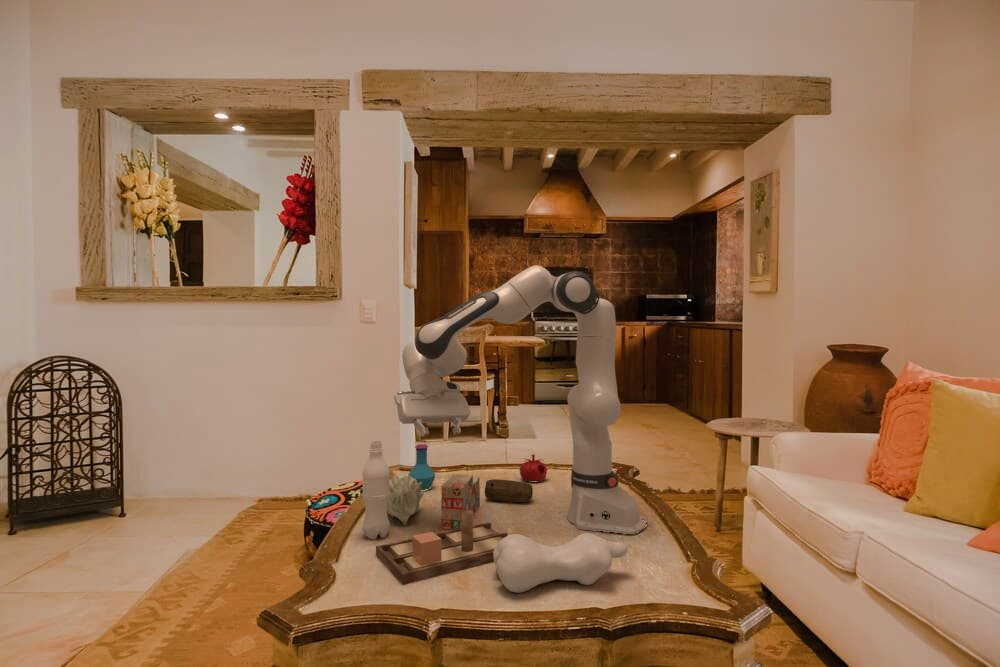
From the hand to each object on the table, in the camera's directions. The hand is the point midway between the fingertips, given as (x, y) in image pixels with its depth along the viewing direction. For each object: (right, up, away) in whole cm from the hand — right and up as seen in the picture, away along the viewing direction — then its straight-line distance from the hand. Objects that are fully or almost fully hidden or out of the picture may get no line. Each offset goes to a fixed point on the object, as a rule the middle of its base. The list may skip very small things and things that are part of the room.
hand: (441, 434), depth 144 cm
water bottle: (-18, -28, +2) cm, 33 cm away
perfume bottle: (-12, -27, +45) cm, 54 cm away
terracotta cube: (-2, -26, -17) cm, 31 cm away
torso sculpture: (+29, -28, -22) cm, 46 cm away
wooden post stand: (+6, -27, -13) cm, 30 cm away
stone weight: (+18, -27, +32) cm, 46 cm away
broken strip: (+1, -28, -5) cm, 28 cm away
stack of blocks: (+4, -28, +17) cm, 33 cm away
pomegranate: (+27, -27, +55) cm, 67 cm away
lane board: (+3, -28, -9) cm, 29 cm away
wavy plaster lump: (-14, -27, +17) cm, 35 cm away
